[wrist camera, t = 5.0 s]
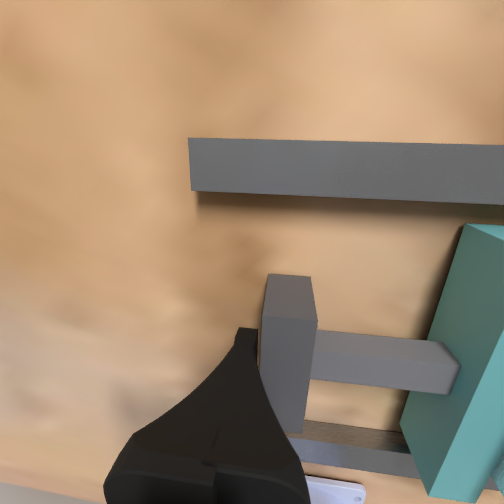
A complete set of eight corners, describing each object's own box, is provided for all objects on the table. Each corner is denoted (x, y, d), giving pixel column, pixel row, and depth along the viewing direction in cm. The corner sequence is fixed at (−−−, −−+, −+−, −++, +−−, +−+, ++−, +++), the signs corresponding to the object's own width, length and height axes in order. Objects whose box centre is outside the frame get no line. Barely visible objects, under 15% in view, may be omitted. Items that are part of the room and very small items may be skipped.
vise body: (578, 480, 16) (652, 566, 13) (211, 428, 18) (194, 490, 15) (831, 153, 9) (1129, 158, 6) (197, 138, 11) (161, 135, 8)
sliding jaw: (436, 428, 15) (475, 503, 12) (261, 405, 16) (255, 469, 13) (518, 226, 11) (614, 260, 8) (271, 213, 12) (265, 238, 9)
